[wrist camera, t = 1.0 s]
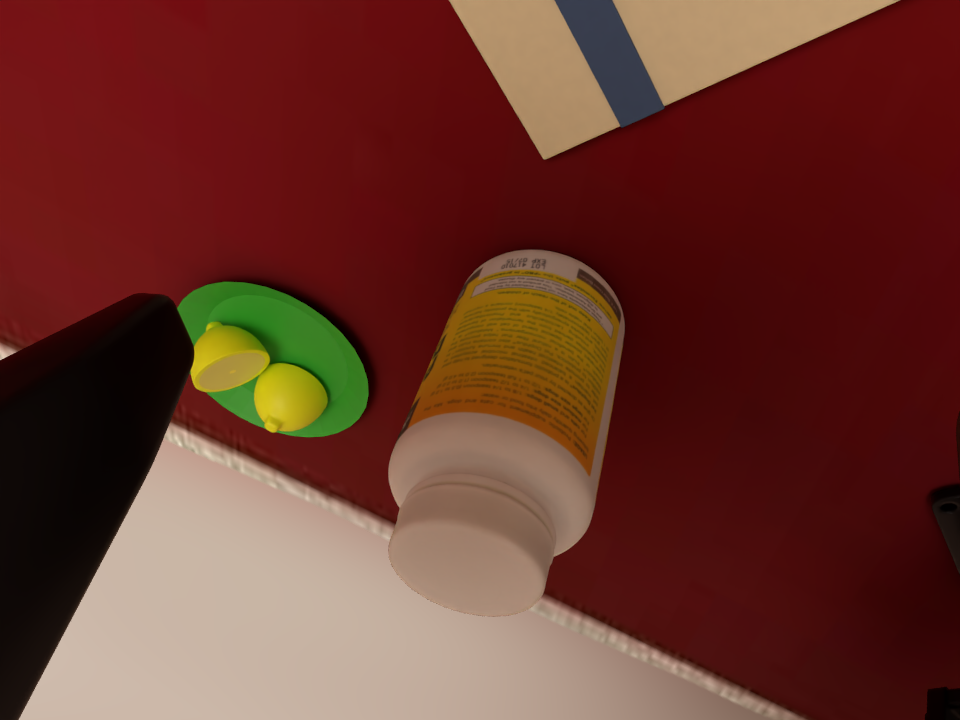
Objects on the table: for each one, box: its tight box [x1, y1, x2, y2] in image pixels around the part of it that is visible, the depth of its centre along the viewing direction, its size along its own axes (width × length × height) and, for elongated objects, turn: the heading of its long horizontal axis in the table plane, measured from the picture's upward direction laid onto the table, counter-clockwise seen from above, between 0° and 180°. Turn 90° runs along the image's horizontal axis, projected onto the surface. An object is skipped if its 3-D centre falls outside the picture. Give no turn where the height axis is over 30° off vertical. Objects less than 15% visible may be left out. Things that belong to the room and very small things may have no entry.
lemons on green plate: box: [177, 282, 369, 437], centre depth 30 cm, size 8×8×3 cm
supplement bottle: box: [388, 250, 625, 617], centre depth 23 cm, size 6×6×10 cm
